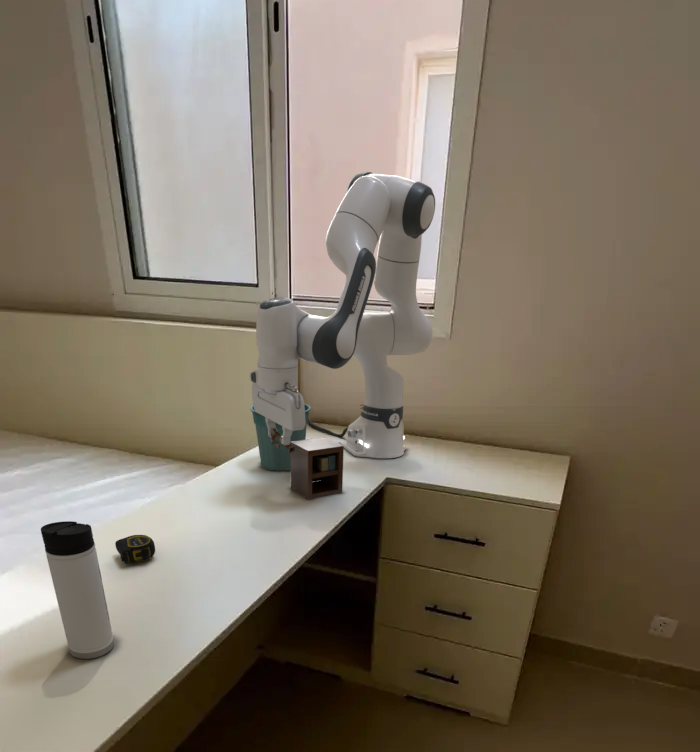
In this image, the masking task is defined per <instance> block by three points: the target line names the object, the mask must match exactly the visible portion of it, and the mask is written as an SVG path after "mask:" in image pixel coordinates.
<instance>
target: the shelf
mask: <svg viewBox="0 0 700 752" xmlns="http://www.w3.org/2000/svg"><path fill="white" fill-rule="evenodd" d="M290 444H291V445H292V446H293V445H295V446H296V447H295V452H293V453H290V461H291V470H290V489H291V490H292V491H294V492H296V493H297V494H299V495H300V496H301V497H304V498H305V499H307V500H313V499H314V498H315V499H317V498H320V497H327V496H332V495H337V494H343V484H344V481H343V480H344V452H345V451H344V449H345V448H344V446H343V445H340V444H339V442H336V441H334V440H332V439H330V438H328V437H325V436H323V437H315V438H309V439H307V438H306V440H300V441H292V442H290Z"/></svg>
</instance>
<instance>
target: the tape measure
mask: <svg viewBox="0 0 700 752" xmlns="http://www.w3.org/2000/svg"><path fill="white" fill-rule="evenodd" d="M114 545H115V549H116V551H117V553H118V554H119V555H120V559H121V562H123V563H124V564H126V565H129V564H132V563H140V562H145V561H147V560H150V559H151V558H153V557H154V555H155V553H156V545H155V541H154V540H153V538H151V537H150V536H148V535H146V534H132V535H129V536H126V537H122V538H120V539H118V540H116V541H115V543H114Z"/></svg>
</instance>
